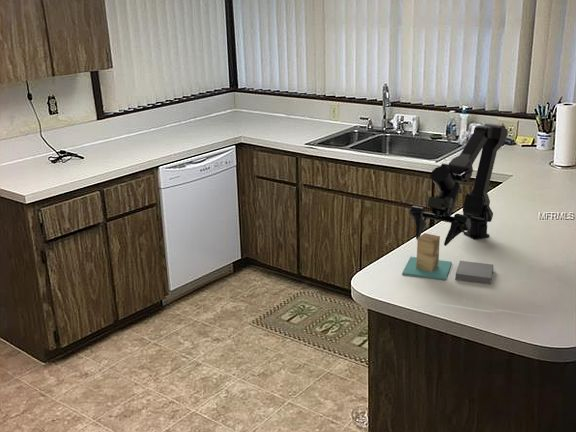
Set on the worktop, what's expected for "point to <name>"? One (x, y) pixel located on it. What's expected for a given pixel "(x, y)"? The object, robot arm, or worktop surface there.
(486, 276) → the charcoal board
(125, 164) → the worktop surface
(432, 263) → the oak block
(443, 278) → the teal mat
